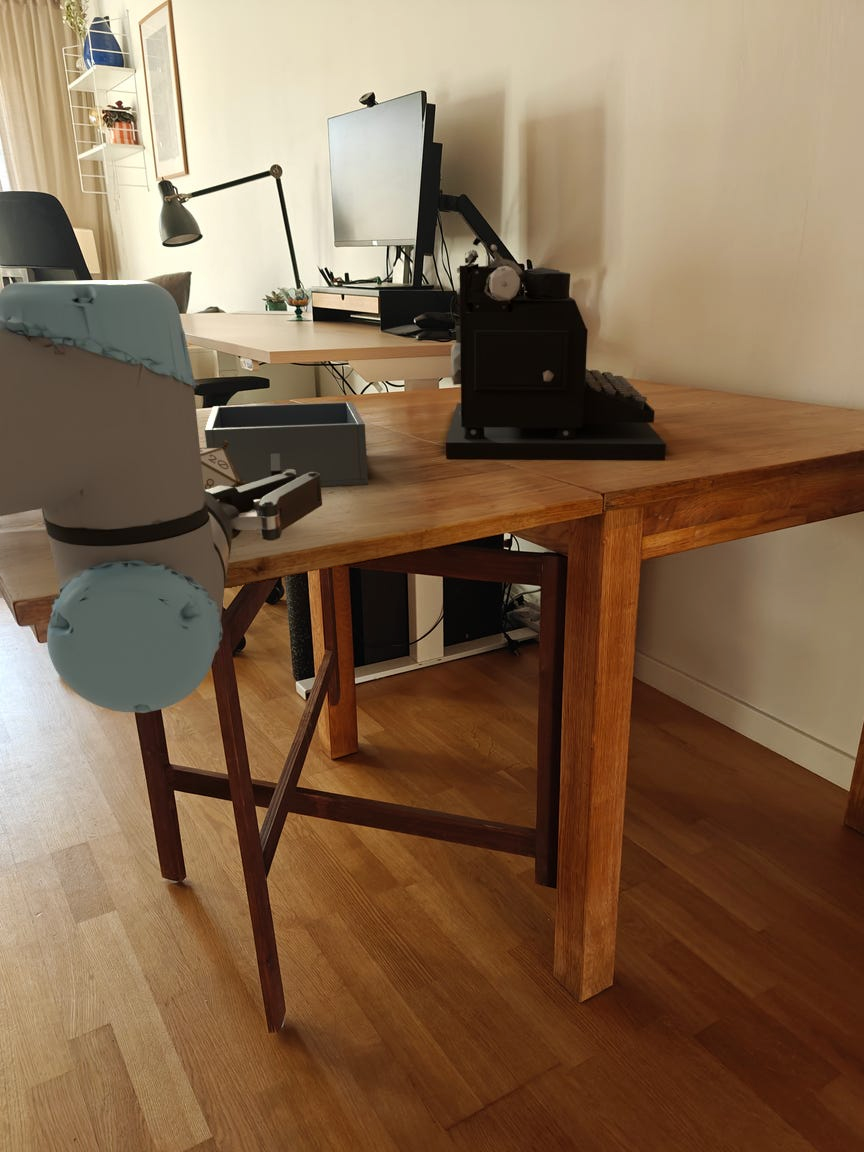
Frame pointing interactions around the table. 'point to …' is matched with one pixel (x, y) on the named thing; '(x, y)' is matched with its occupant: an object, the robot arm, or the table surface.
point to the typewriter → (536, 375)
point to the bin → (293, 440)
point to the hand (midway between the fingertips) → (193, 473)
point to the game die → (218, 468)
